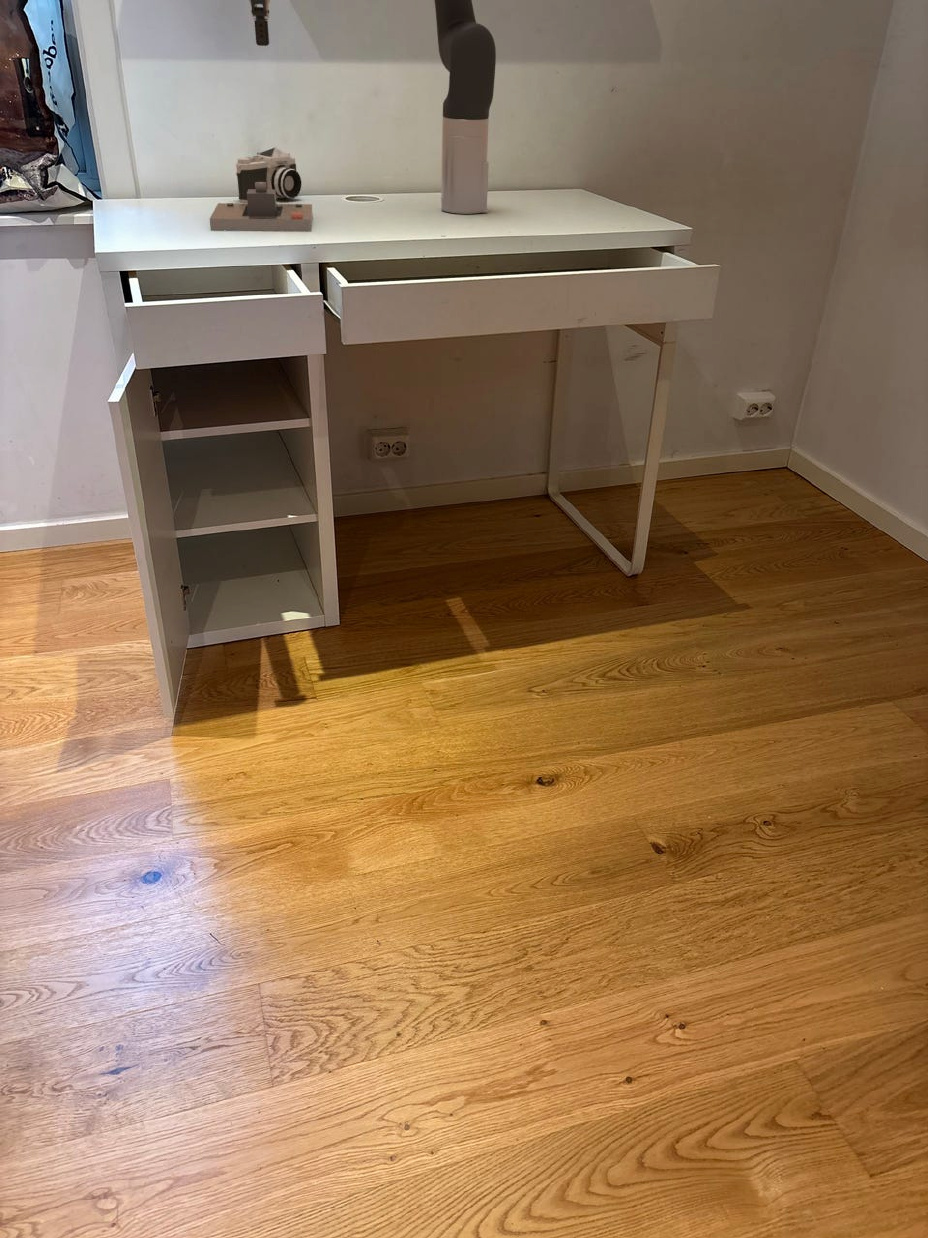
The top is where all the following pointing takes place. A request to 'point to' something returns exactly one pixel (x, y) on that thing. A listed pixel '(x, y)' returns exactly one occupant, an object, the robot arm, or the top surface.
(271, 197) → the plug
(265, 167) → the camera
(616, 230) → the top surface
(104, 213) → the top surface
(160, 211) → the top surface
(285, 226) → the socket plate
